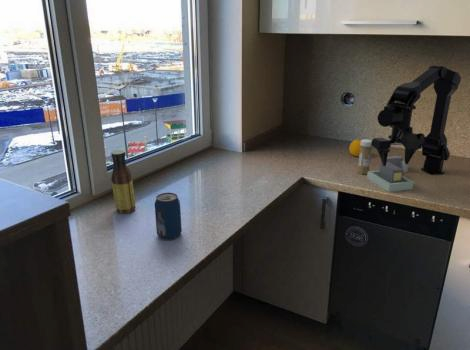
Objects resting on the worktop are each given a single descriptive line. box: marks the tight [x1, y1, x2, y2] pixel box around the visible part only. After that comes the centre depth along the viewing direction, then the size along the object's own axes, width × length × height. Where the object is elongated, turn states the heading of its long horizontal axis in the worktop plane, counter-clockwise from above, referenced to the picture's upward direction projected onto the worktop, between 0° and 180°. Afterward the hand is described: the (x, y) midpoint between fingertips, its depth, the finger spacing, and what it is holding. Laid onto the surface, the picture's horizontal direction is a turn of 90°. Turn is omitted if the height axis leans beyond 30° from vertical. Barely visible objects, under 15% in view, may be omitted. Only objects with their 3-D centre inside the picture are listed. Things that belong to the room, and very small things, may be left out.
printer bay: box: [386, 155, 409, 173], centre depth 163 cm, size 7×6×5 cm
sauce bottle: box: [110, 149, 136, 215], centre depth 125 cm, size 6×6×20 cm
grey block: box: [379, 162, 404, 183], centre depth 148 cm, size 4×8×6 cm, turn 13°
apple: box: [348, 139, 362, 157], centre depth 181 cm, size 8×8×8 cm
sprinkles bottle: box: [357, 138, 373, 175], centre depth 159 cm, size 5×5×13 cm
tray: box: [366, 169, 415, 193], centre depth 149 cm, size 10×14×3 cm
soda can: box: [154, 192, 182, 241], centre depth 111 cm, size 7×7×12 cm
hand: (395, 164), depth 145 cm, fingers open, 9 cm apart
